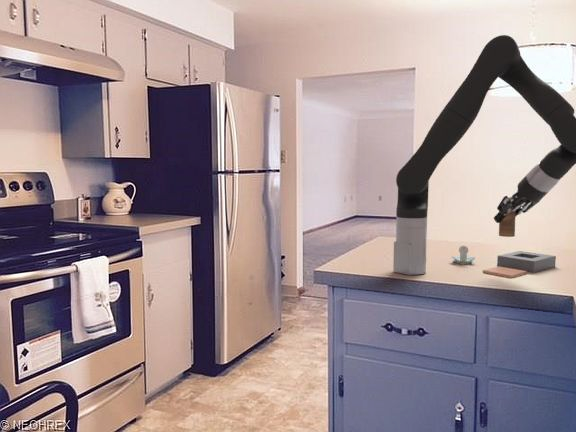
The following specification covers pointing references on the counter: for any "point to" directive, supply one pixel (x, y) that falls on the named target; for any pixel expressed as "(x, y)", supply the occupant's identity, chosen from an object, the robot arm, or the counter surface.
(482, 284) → the counter surface
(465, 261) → the pacifier
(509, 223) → the walnut peg
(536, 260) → the pocket holder
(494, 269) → the terracotta tile
